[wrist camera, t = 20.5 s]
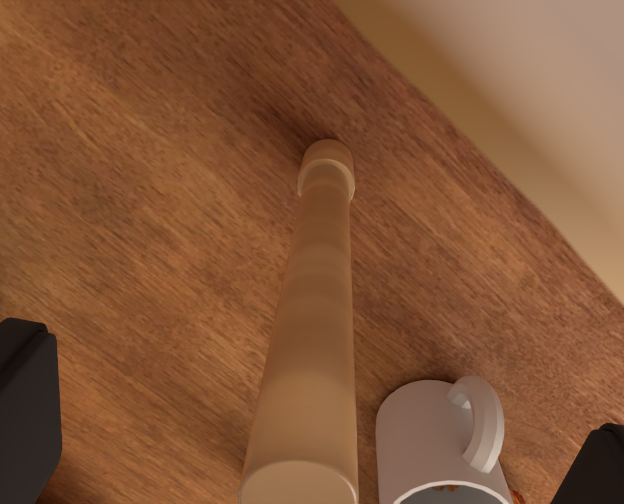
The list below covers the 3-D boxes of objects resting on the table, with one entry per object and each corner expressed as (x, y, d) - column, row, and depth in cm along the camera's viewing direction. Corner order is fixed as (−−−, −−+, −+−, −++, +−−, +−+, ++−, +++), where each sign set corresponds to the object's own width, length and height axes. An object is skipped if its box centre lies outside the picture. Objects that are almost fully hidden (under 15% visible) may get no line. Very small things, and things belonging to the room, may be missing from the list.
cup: (357, 439, 38) (358, 552, 29) (423, 326, 34) (447, 420, 26) (449, 475, 38) (476, 596, 30) (524, 368, 35) (578, 472, 26)
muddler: (306, 134, 29) (227, 434, 9) (357, 143, 29) (390, 458, 9) (299, 183, 30) (215, 543, 10) (348, 191, 30) (359, 564, 10)
